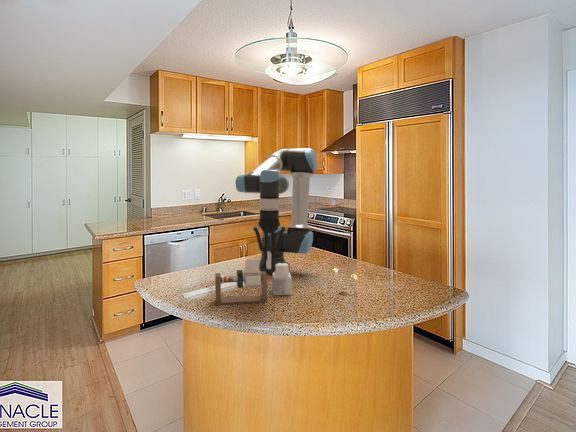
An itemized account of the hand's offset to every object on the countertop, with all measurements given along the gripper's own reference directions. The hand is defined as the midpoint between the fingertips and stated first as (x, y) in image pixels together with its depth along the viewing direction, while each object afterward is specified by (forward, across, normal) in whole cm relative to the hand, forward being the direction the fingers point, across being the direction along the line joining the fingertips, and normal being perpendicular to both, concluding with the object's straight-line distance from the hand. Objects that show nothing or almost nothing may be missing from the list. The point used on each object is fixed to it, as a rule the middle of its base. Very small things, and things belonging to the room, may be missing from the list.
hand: (268, 268), depth 138 cm
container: (+13, -7, -8) cm, 17 cm away
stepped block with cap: (+7, +6, 0) cm, 9 cm away
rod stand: (+13, +11, 0) cm, 17 cm away
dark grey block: (+7, +11, 0) cm, 13 cm away
